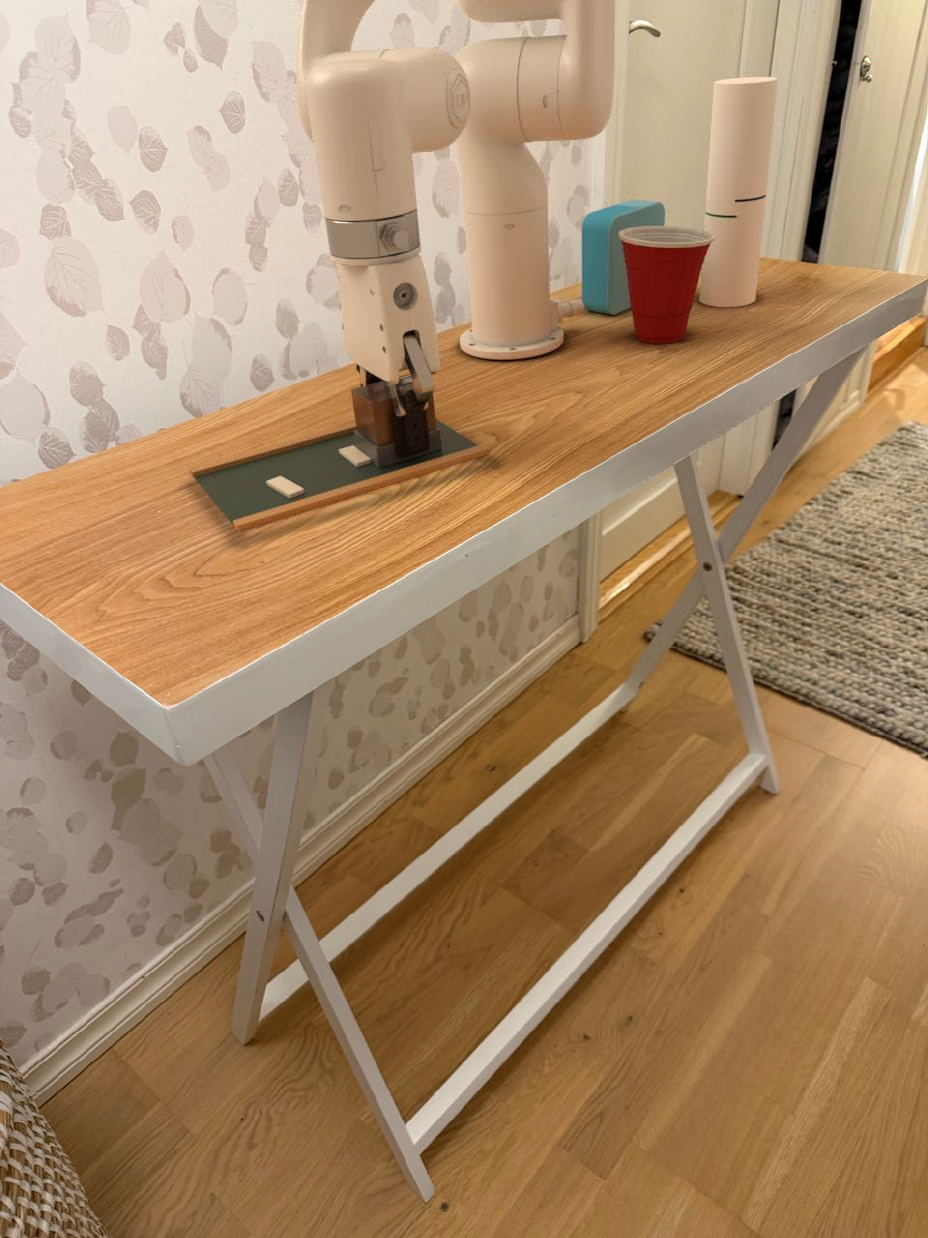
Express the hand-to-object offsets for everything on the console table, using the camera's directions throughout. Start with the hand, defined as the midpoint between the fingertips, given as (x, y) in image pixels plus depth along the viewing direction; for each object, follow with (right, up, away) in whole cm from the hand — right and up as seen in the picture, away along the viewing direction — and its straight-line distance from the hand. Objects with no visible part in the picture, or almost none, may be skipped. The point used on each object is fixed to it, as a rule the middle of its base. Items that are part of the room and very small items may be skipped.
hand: (398, 441), depth 86 cm
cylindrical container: (+41, +25, +36) cm, 60 cm away
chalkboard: (-5, -3, 0) cm, 6 cm away
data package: (+27, +25, +38) cm, 53 cm away
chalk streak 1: (-10, -5, -5) cm, 12 cm away
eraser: (0, -1, 0) cm, 1 cm away
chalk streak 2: (-4, -2, 0) cm, 4 cm away
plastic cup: (+30, +17, +26) cm, 43 cm away
